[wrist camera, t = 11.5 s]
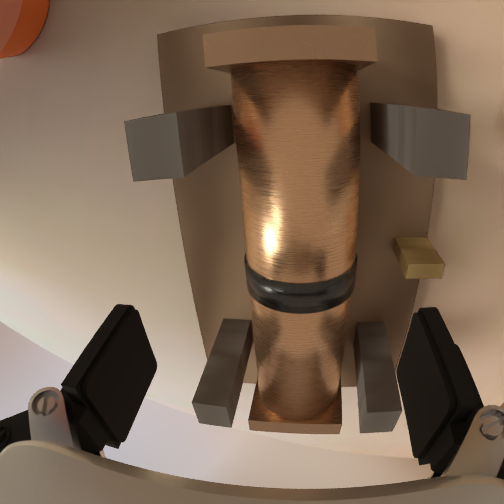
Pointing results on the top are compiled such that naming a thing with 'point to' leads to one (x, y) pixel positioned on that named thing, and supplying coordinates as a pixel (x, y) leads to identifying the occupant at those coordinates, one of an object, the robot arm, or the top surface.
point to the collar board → (369, 216)
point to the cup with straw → (20, 24)
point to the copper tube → (297, 207)
